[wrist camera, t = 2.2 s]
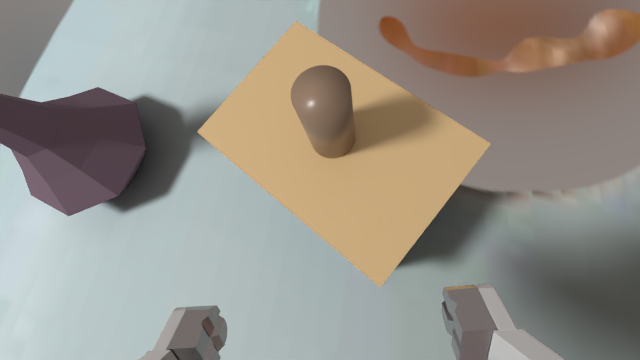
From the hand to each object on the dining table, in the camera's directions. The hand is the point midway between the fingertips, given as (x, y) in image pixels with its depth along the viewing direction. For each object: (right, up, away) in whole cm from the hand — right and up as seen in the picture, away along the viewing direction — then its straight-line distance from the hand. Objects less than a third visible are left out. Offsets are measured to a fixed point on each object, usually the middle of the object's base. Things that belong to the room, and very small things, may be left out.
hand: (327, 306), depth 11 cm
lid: (+1, +8, +19) cm, 21 cm away
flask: (-28, +7, +30) cm, 42 cm away
